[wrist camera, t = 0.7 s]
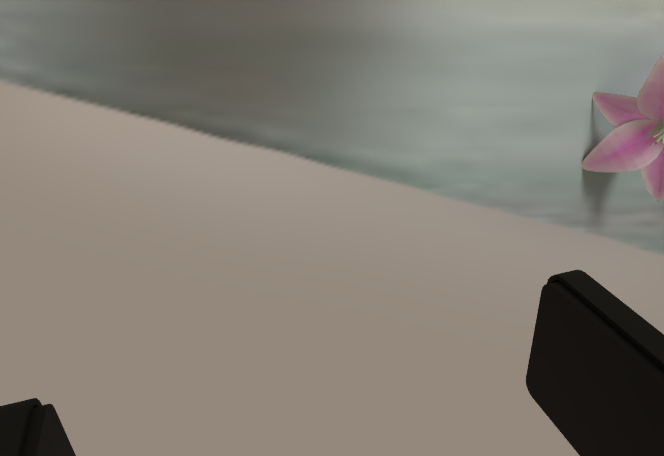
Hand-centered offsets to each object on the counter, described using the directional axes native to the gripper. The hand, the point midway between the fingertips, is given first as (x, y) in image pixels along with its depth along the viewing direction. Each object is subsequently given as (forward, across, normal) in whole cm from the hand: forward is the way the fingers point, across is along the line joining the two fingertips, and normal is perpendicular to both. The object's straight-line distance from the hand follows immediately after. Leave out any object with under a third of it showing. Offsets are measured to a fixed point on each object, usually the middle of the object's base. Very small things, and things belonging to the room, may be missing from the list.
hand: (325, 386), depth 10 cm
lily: (+30, -35, +8) cm, 46 cm away
